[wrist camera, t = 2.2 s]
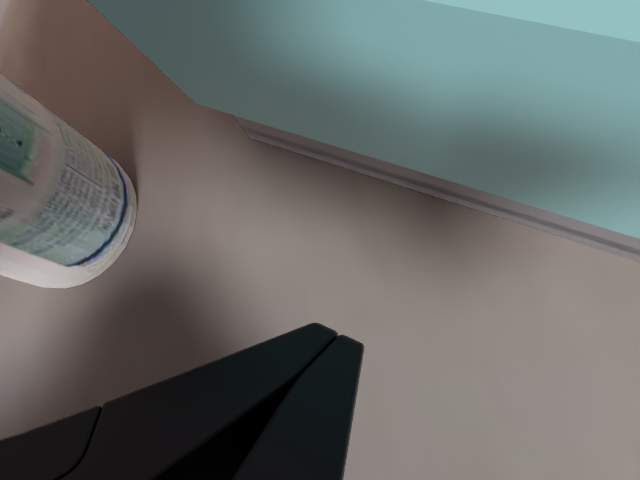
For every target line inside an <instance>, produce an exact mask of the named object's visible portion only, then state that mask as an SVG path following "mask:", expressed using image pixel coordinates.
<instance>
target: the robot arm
mask: <svg viewBox="0 0 640 480" xmlns="http://www.w3.org/2000/svg"><path fill="white" fill-rule="evenodd" d="M363 353H364V345H363V344H362V343H360V342H358V341H356V340H354V339H352V338H350V337H347V336H345V335H338V333H337V332H336V331H334V330H332V329H330V328H328V327H326V326H324V325H322V324H319V323H311V324H308V325H306V326H303V327H300V328H298V329H295V330H293V331H290V332H288V333H285V334H282V335H280V336H277V337H275V338H272V339H269V340H267V341H264V342H262V343H259V344H256V345H254V346H251V347H249V348H246V349H243V350H241V351H238V352H236V353H233V354H230V355H228V356H225V357H223V358H220V359H217V360H215V361H212V362H210V363H207V364H204V365H202V366H199V367H197V368H194V369H191V370H189V371H186V372H184V373H181V374H178V375H176V376H173V377H171V378H168V379H165V380H163V381H160V382H158V383H155V384H152V385H150V386H147V387H145V388H142V389H140V390H137V391H134V392H132V393H129V394H127V395H124V396H121V397H119V398H116V399H114V400H111V401H108V402H106V403H104V404H103V406H102V408H101V406H95V407H92V408H90V409H87V410H84V411H82V412H79V413H77V414H74V415H71V416H69V417H66V418H63V419H60V420H58V421H55V422H52V423H49V424H47V425H44V426H41V427H38V428H35V429H33V430H30V431H27V432H24V433H21V434H18V435H15V436H11V437H8V438H5V439H2V440H0V480H343V477H344V470H345V464H346V458H347V452H348V446H349V439H350V433H351V427H352V421H353V415H354V408H355V402H356V396H357V390H358V384H359V377H360V371H361V365H362V359H363Z"/></svg>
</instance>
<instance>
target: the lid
mask: <svg viewBox="0 0 640 480" xmlns="http://www.w3.org/2000/svg"><path fill="white" fill-rule="evenodd" d="M87 1H88V2H89V3H90V4H91V5H92V6H93V7H94V8H95V9H97V10H98V11H99V12H100V13H101V14H102V15H103V16H104V17H105V18H106V19H107V20H108V21H109V22H110V23H111V24H112V25H113V26H114V27H115V28H116V29H117V30H119V31H120V32H121V33H122V34H123V35H124V36H125V37H126V38H127V39H128V40H129V41H130V42H131V43H132V44H133V45H134V46H135V47H136V48H137V49H138V50H140V51H141V52H142V53H143V54H144V55H145V56H146V57H147V58H148V59H149V60H150V61H151V62H152V63H153V64H154V65H155V66H156V67H157V68H158V69H159V70H160V71H162V72H163V73H164V74H165V75H166V76H167V77H168V78H169V79H170V80H171V81H172V82H173V83H174V84H175V85H176V86H177V87H178V88H179V89H180V90H181V91H183V92H184V93H185V94H186V95H187V96H188V97H189V98H190V99H191V100H192V101H193V102H194V103H195V104H198V105H202V106H205V107H208V108H212V109H215V110H218V111H221V112H225V113H228V114H231V115H234V116H238V117H241V118H244V119H248V120H251V121H254V122H257V123H261V124H264V125H267V126H271V127H274V128H277V129H280V130H284V131H287V132H290V133H294V134H297V135H300V136H303V137H307V138H310V139H313V140H317V141H320V142H323V143H326V144H330V145H333V146H336V147H340V148H343V149H346V150H349V151H353V152H356V153H359V154H363V155H366V156H369V157H372V158H376V159H379V160H382V161H386V162H389V163H392V164H395V165H399V166H402V167H405V168H409V169H412V170H415V171H418V172H422V173H425V174H428V175H432V176H435V177H438V178H441V179H445V180H448V181H451V182H455V183H458V184H461V185H464V186H468V187H471V188H474V189H478V190H481V191H484V192H487V193H491V194H494V195H497V196H501V197H504V198H507V199H510V200H514V201H517V202H520V203H524V204H527V205H530V206H533V207H537V208H540V209H543V210H547V211H550V212H553V213H556V214H560V215H563V216H566V217H570V218H573V219H576V220H579V221H583V222H586V223H589V224H593V225H596V226H599V227H602V228H606V229H609V230H612V231H616V232H619V233H622V234H625V235H629V236H632V237H635V238H639V239H640V0H87Z"/></svg>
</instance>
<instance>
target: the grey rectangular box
mask: <svg viewBox="0 0 640 480" xmlns="http://www.w3.org/2000/svg"><path fill="white" fill-rule="evenodd" d="M233 116H234V115H233ZM234 117H235V118H236V120H237V121H238V122H239V124H240V125H241V127H242V128H243V129H244V131H245V132H246V133H247V135H248V136H249V137H250V138H252V139H255V140H258V141H261V142H265V143H268V144H271V145H274V146H277V147H280V148H283V149H287V150H290V151H293V152H296V153H299V154H302V155H306V156H309V157H312V158H315V159H318V160H321V161H324V162H328V163H331V164H334V165H337V166H340V167H343V168H347V169H350V170H353V171H356V172H359V173H362V174H365V175H369V176H372V177H375V178H378V179H381V180H384V181H388V182H391V183H394V184H397V185H400V186H403V187H406V188H410V189H413V190H416V191H419V192H422V193H425V194H429V195H432V196H435V197H438V198H441V199H444V200H447V201H451V202H454V203H457V204H460V205H463V206H466V207H470V208H473V209H476V210H479V211H482V212H485V213H488V214H492V215H495V216H498V217H501V218H504V219H507V220H511V221H514V222H517V223H520V224H523V225H526V226H529V227H533V228H536V229H539V230H542V231H545V232H548V233H551V234H555V235H558V236H561V237H564V238H567V239H570V240H574V241H577V242H580V243H583V244H586V245H589V246H592V247H596V248H599V249H602V250H605V251H608V252H611V253H615V254H618V255H621V256H624V257H627V258H630V259H633V260H637V261H640V239H639V238H635V237H632V236H629V235H625V234H622V233H619V232H616V231H612V230H609V229H606V228H602V227H599V226H596V225H593V224H589V223H586V222H583V221H579V220H576V219H573V218H570V217H566V216H563V215H560V214H556V213H553V212H550V211H547V210H543V209H540V208H537V207H533V206H530V205H527V204H524V203H520V202H517V201H514V200H510V199H507V198H504V197H501V196H497V195H494V194H491V193H487V192H484V191H481V190H478V189H474V188H471V187H468V186H464V185H461V184H458V183H455V182H451V181H448V180H445V179H441V178H438V177H435V176H432V175H428V174H425V173H422V172H418V171H415V170H412V169H409V168H405V167H402V166H399V165H395V164H392V163H389V162H386V161H382V160H379V159H376V158H372V157H369V156H366V155H363V154H359V153H356V152H353V151H349V150H346V149H343V148H340V147H336V146H333V145H330V144H326V143H323V142H320V141H317V140H313V139H310V138H307V137H303V136H300V135H297V134H294V133H290V132H287V131H284V130H280V129H277V128H274V127H271V126H267V125H264V124H261V123H257V122H254V121H251V120H248V119H244V118H241V117H238V116H234Z"/></svg>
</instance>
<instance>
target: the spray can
mask: <svg viewBox="0 0 640 480" xmlns="http://www.w3.org/2000/svg"><path fill="white" fill-rule="evenodd" d="M136 214H137V201H136V193H135V190H134V187H133V184H132V182H131V179H130V178H129V177H128V175H127V174H126V173H125V171H124V170H123V169H122V168H121V166H120V165H119V164H118V162H117V161H115V160H114V159H112V158H111V157H110V156H108V155H107V154H106V153H105V152H103V151H102V150H101V149H99V148H98V147H97V146H95V145H94V144H93V143H91V142H90V141H89V140H87V139H86V138H85V137H84V136H82V135H81V134H80V133H78V132H77V131H76V130H74V129H73V128H72V127H70V126H69V125H68V124H66V123H65V122H64V121H63V120H61V119H60V118H59V117H57V116H56V115H55V114H53V113H52V112H51V111H49V110H48V109H47V108H46V107H44V106H43V105H42V104H40V103H39V102H38V101H36V100H35V99H34V98H32V97H31V96H30V95H28V94H27V93H26V92H25V91H23V90H22V89H21V88H19V87H18V86H17V85H15V84H14V83H13V82H11V81H10V80H9V79H8V78H6V77H5V76H4V75H2V74H1V73H0V275H2V276H5V277H9V278H12V279H16V280H19V281H22V282H26V283H29V284H33V285H36V286H39V287H45V288H70V287H74V286H78V285H82V284H84V283H86V282H88V281H90V280H92V279H94V278H95V277H97V276H99V275H101V274H102V273H103V272H104V271H105V270H106V269H107V268H108V267H110V266H111V265H112V264H113V263H114V262H115V261H116V259H117V258H118V257H119V255H120V254H121V253H122V251H123V250H124V248H125V247H126V245H127V243H128V241H129V238H130V236H131V234H132V232H133V229H134V225H135V220H136Z"/></svg>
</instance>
